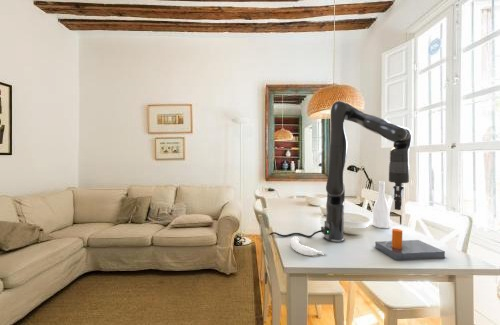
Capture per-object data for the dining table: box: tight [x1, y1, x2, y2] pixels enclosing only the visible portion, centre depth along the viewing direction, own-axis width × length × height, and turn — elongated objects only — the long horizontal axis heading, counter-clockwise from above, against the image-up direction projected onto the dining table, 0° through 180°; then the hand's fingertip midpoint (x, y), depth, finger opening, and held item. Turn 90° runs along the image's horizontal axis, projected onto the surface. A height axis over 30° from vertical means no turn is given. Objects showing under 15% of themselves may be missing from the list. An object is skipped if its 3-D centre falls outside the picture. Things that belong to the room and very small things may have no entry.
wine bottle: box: [372, 180, 391, 229], centre depth 148 cm, size 10×10×30 cm
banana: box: [290, 236, 325, 256], centre depth 111 cm, size 5×19×15 cm
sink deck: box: [374, 239, 446, 261], centre depth 108 cm, size 24×14×3 cm, turn 97°
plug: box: [391, 228, 403, 249], centre depth 107 cm, size 4×4×11 cm
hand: (398, 207), depth 100 cm, fingers open, 8 cm apart
